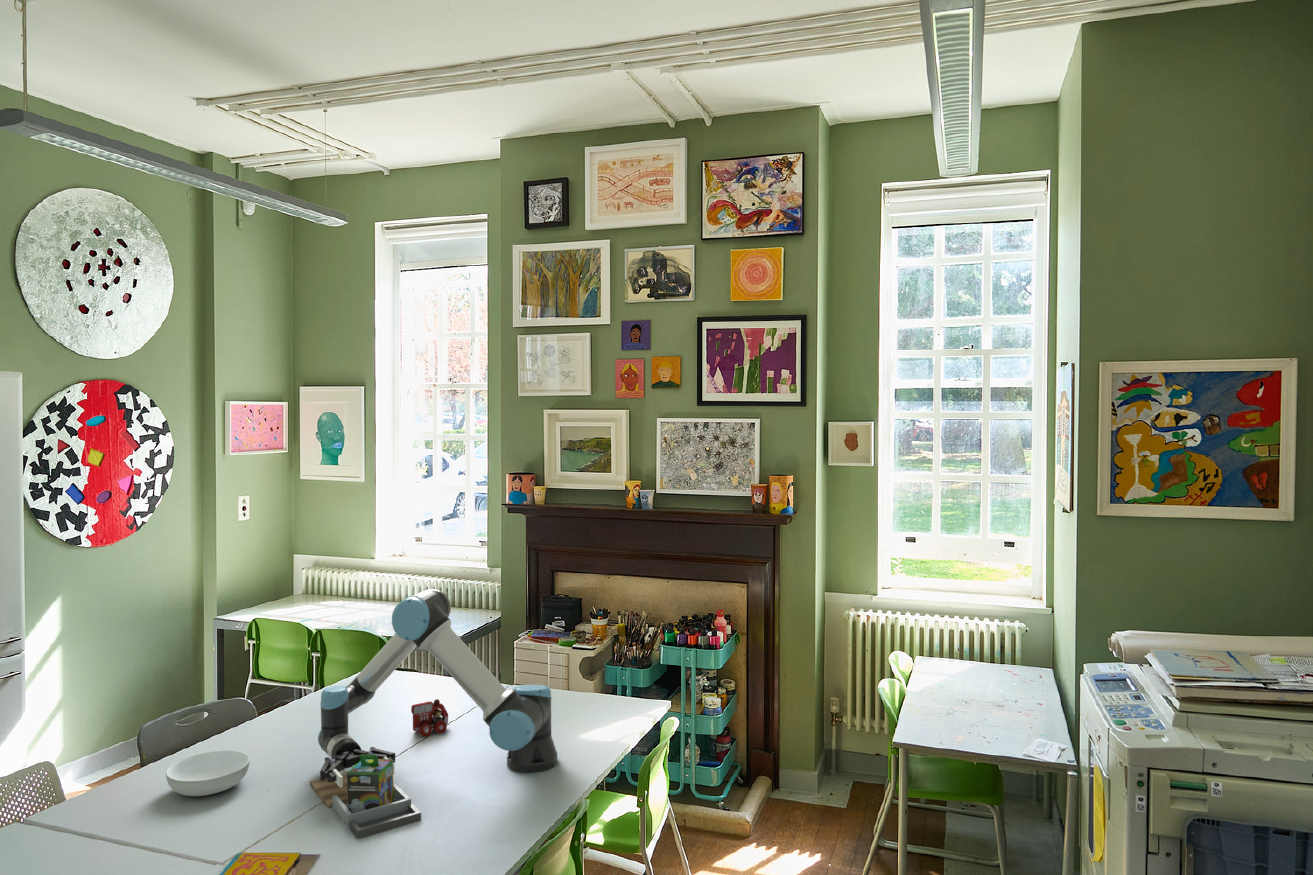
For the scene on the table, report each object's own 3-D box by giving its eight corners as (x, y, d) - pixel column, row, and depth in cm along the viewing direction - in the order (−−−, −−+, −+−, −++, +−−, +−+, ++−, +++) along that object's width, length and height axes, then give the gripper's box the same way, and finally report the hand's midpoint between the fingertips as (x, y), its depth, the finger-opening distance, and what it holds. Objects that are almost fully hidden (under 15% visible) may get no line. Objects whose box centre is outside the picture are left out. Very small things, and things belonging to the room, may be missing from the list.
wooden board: (310, 784, 236) (309, 780, 236) (373, 768, 247) (373, 764, 247) (327, 807, 221) (327, 803, 221) (394, 789, 232) (394, 785, 232)
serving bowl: (155, 809, 221) (155, 784, 221) (178, 778, 241) (178, 754, 241) (241, 800, 226) (241, 774, 226) (256, 769, 246) (256, 746, 246)
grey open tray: (332, 806, 222) (332, 795, 222) (391, 790, 231) (391, 779, 231) (357, 838, 204) (357, 826, 204) (421, 820, 214) (420, 808, 214)
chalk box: (394, 800, 225) (394, 746, 225) (380, 816, 216) (379, 760, 216) (362, 799, 226) (361, 745, 226) (346, 815, 217) (345, 758, 217)
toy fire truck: (452, 731, 277) (451, 700, 277) (416, 739, 269) (415, 707, 269) (443, 725, 282) (443, 694, 282) (408, 733, 275) (408, 702, 275)
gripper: (387, 753, 246) (413, 777, 229) (298, 775, 231) (318, 802, 214) (387, 728, 246) (413, 750, 229) (298, 748, 231) (318, 773, 214)
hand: (367, 775), depth 221 cm, fingers open, 13 cm apart
